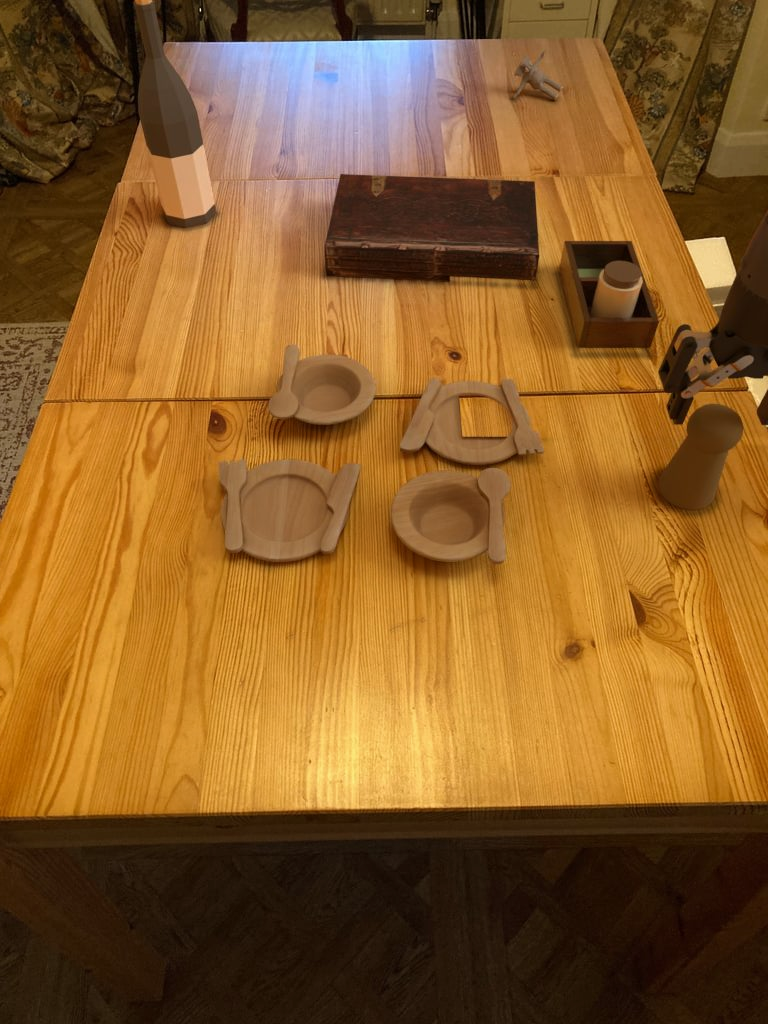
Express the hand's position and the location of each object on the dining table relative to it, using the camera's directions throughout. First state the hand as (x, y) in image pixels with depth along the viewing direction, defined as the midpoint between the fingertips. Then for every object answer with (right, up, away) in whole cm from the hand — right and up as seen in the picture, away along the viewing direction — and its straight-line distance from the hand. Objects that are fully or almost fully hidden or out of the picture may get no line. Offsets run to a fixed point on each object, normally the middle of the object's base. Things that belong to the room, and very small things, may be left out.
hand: (719, 419), depth 75 cm
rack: (-4, +18, +28) cm, 33 cm away
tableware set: (-33, -4, +11) cm, 35 cm away
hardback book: (-26, +30, +38) cm, 55 cm away
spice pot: (-4, +15, +24) cm, 29 cm away
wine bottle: (-63, +37, +43) cm, 84 cm away
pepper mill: (0, -7, +9) cm, 11 cm away
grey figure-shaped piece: (-4, +69, +68) cm, 97 cm away
